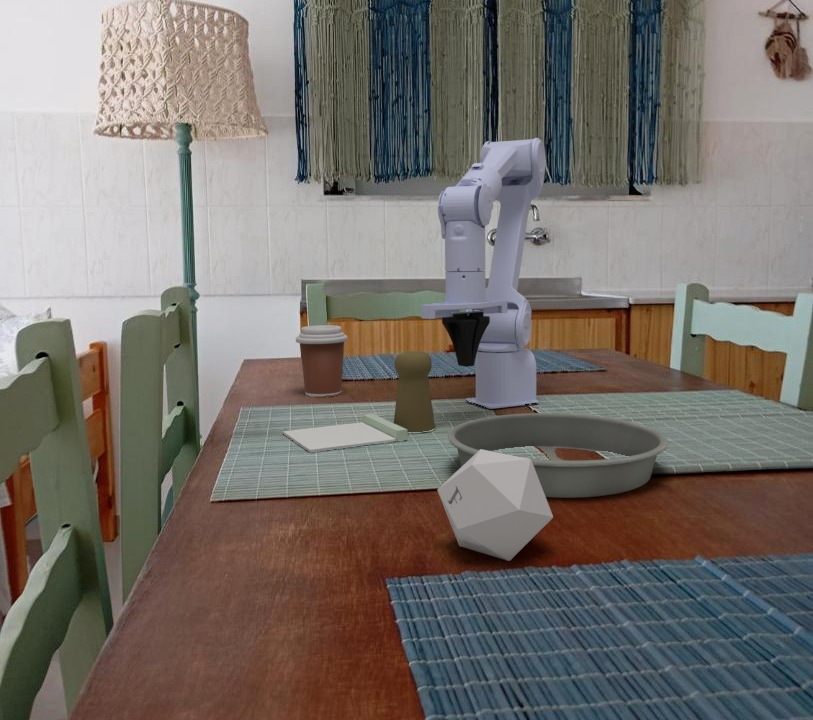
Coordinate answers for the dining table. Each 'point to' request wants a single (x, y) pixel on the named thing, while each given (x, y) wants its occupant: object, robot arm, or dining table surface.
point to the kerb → (386, 426)
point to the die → (495, 503)
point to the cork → (413, 392)
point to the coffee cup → (322, 359)
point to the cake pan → (573, 434)
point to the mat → (337, 437)
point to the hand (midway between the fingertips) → (466, 365)
